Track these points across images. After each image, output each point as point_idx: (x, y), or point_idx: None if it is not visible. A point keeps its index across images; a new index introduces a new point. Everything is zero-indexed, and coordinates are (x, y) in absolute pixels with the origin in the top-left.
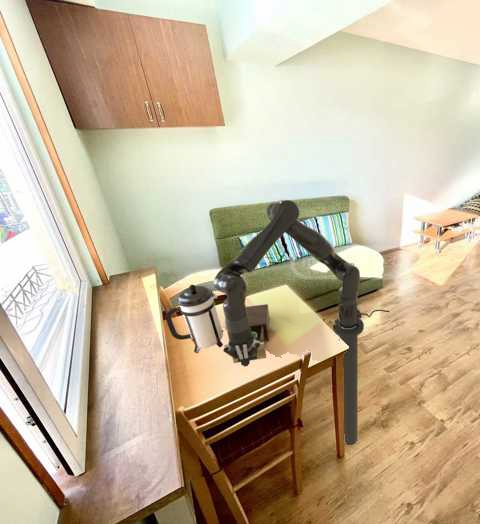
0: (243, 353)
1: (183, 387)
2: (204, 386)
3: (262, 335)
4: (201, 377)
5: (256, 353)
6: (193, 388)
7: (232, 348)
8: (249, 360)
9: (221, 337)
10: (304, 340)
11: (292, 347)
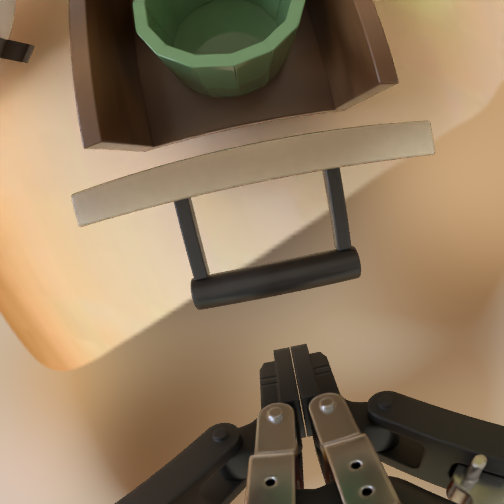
0: (295, 425)
1: (9, 308)
2: (72, 313)
3: (373, 6)
4: (32, 259)
5: (347, 220)
6: (41, 318)
7: (178, 494)
8: (328, 368)
9: (8, 17)
10: (487, 22)
11: (454, 52)
